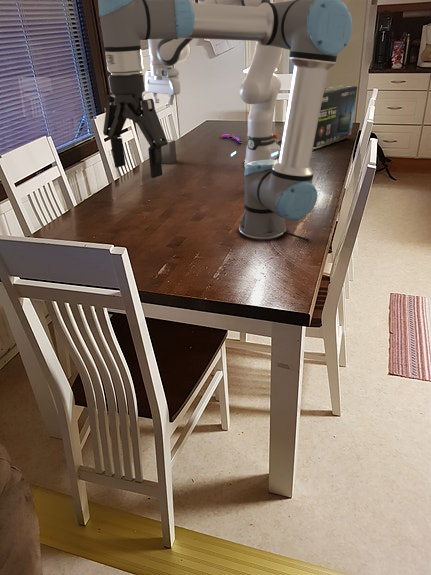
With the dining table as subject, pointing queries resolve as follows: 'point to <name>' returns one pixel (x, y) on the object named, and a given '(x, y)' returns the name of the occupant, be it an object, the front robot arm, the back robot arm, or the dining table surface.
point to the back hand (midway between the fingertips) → (163, 103)
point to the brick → (169, 152)
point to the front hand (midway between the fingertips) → (138, 171)
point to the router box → (335, 114)
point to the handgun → (232, 138)
